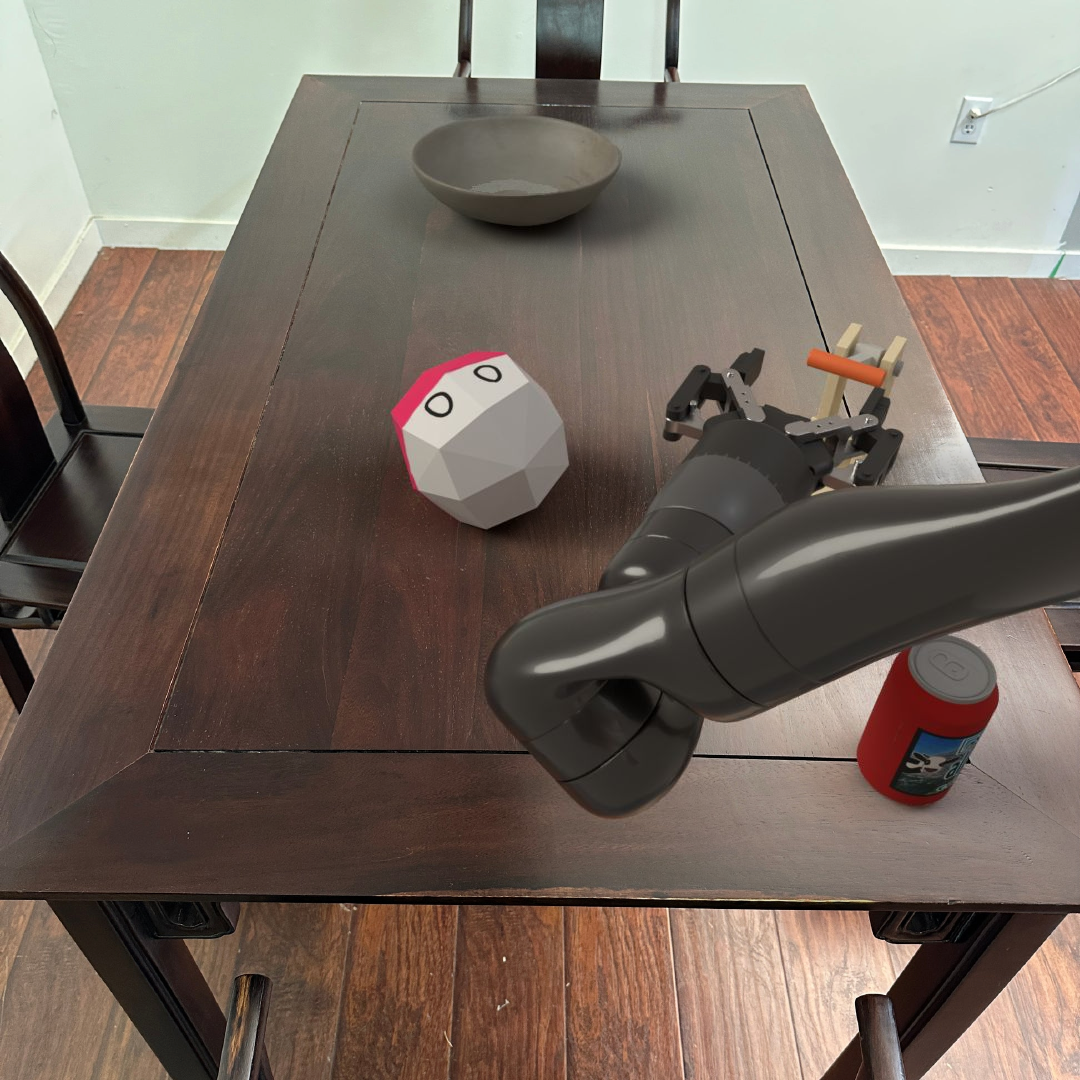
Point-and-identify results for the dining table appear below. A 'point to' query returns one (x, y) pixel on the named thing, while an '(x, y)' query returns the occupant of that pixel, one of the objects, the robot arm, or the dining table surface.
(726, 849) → the dining table surface
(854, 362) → the lever
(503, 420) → the decorative object
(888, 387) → the bracket
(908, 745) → the beverage can
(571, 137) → the bowl
